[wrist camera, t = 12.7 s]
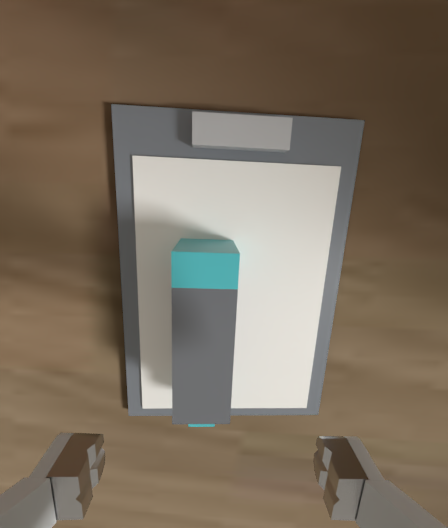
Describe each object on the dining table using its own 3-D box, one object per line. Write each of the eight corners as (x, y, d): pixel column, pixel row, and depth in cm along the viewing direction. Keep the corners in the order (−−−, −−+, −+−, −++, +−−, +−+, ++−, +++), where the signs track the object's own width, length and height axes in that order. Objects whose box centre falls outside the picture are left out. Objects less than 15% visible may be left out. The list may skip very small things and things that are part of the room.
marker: (180, 238, 18) (171, 251, 14) (232, 240, 18) (240, 253, 14) (180, 393, 21) (172, 444, 17) (224, 393, 21) (228, 444, 17)
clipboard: (359, 122, 17) (374, 115, 16) (315, 409, 23) (322, 424, 22) (114, 107, 17) (104, 97, 15) (130, 410, 22) (124, 425, 21)
